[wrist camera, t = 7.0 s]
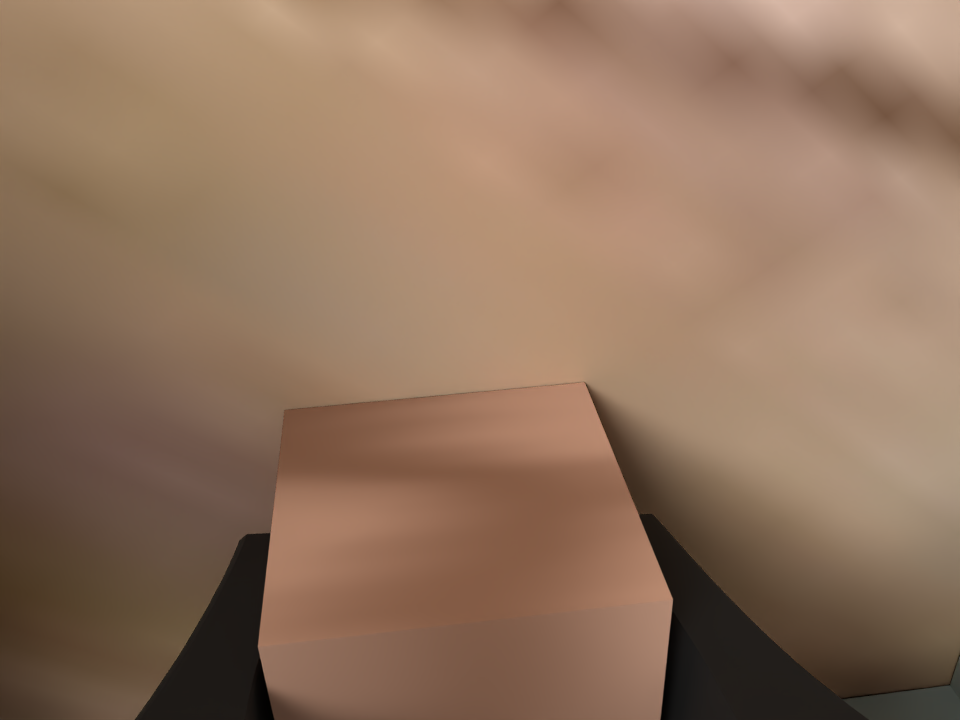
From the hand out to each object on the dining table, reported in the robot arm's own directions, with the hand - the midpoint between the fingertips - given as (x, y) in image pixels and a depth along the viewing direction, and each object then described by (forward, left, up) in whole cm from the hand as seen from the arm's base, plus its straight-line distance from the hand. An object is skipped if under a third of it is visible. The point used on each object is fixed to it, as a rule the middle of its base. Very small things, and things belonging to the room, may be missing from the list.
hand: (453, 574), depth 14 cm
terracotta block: (0, 0, -1) cm, 1 cm away
